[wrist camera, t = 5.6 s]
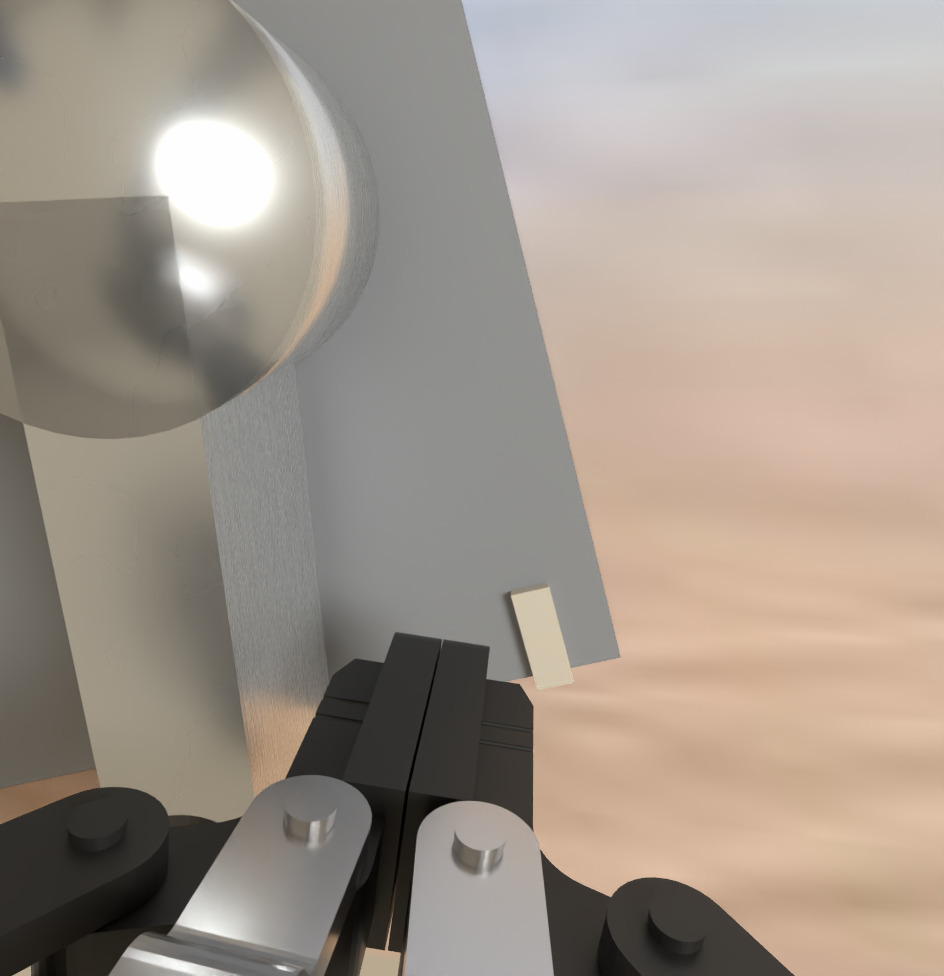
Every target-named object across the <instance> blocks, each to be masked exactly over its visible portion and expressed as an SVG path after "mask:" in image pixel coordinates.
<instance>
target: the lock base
mask: <svg viewBox="0 0 944 976" xmlns="http://www.w3.org/2000/svg"><path fill="white" fill-rule="evenodd" d="M232 1H233V2H235V3H236V4H237V5H238V6H239V7H241V8H242V9H243V10H244V11H245V12H247V13H248V14H249V15H250V16H251V17H253V18H254V19H255V20H256V21H257V22H259V23H260V24H261V25H262V26H263V27H265V28H266V29H267V30H268V31H269V32H271V33H272V34H273V35H274V36H275V37H277V38H278V39H279V40H280V41H281V42H283V43H284V44H285V45H286V46H287V47H289V48H290V49H291V50H292V51H293V52H295V53H296V54H297V55H298V56H299V57H301V58H302V59H303V60H304V61H305V62H306V63H308V64H309V65H310V66H311V67H312V68H313V69H315V70H316V71H317V72H318V73H319V74H320V75H321V76H322V77H323V78H324V79H325V81H326V82H327V83H328V84H329V85H330V86H331V87H332V88H333V89H334V90H335V92H336V93H337V94H338V96H339V97H340V99H341V100H342V102H343V103H344V104H345V106H346V107H347V109H348V110H349V112H350V113H351V115H352V117H353V119H354V121H355V123H356V125H357V126H358V128H359V130H360V132H361V134H362V137H363V139H364V142H365V144H366V147H367V149H368V152H369V155H370V157H371V161H372V165H373V169H374V173H375V177H376V182H377V189H378V197H379V218H380V228H379V236H378V245H377V251H376V255H375V260H374V264H373V268H372V272H371V274H370V277H369V279H368V282H367V284H366V287H365V289H364V292H363V294H362V296H361V297H360V299H359V301H358V303H357V305H356V306H355V308H354V310H353V311H352V313H351V314H350V315H349V317H348V318H347V319H346V321H345V322H344V323H343V325H342V326H341V327H340V328H339V329H338V330H337V331H336V332H335V334H334V335H333V336H332V337H331V338H330V339H329V340H328V341H327V342H325V343H324V344H323V345H321V346H320V347H319V348H318V349H316V350H315V351H314V352H312V353H311V354H310V355H308V356H306V357H304V358H303V359H301V360H299V361H298V362H296V363H295V365H296V374H297V384H298V393H299V403H300V412H301V422H302V431H303V441H304V450H305V460H306V470H307V479H308V489H309V498H310V508H311V517H312V527H313V536H314V546H315V555H316V565H317V574H318V584H319V593H320V603H321V612H322V622H323V632H324V641H325V651H326V660H327V670H328V679H329V683H330V681H331V678H332V676H333V674H334V673H336V672H337V671H339V670H340V669H341V668H343V667H344V666H346V665H347V664H348V663H350V662H351V661H352V660H354V659H355V658H356V659H363V660H369V661H375V662H382V663H384V661H385V659H386V656H387V653H388V650H389V647H390V645H391V642H392V639H393V636H394V634H395V632H400V633H407V634H413V635H419V636H426V637H432V638H438V639H442V644H443V640H444V639H446V640H452V641H459V642H465V643H471V644H478V645H484V646H490V650H489V659H488V668H487V677H486V679H490V680H496V681H502V682H507V681H511V680H516V679H521V678H525V677H530V676H533V677H534V680H535V684H536V688H537V690H541V689H546V688H551V687H556V686H561V685H565V684H570V683H574V680H573V675H572V671H571V668H573V667H577V666H582V665H587V664H592V663H596V662H601V661H606V660H611V659H615V658H620V653H619V649H618V644H617V640H616V636H615V632H614V628H613V624H612V620H611V616H610V611H609V607H608V603H607V599H606V595H605V591H604V587H603V583H602V579H601V574H600V570H599V566H598V562H597V558H596V554H595V550H594V546H593V541H592V537H591V533H590V529H589V525H588V521H587V517H586V513H585V508H584V504H583V500H582V496H581V492H580V488H579V484H578V480H577V475H576V471H575V467H574V463H573V459H572V455H571V451H570V447H569V442H568V438H567V434H566V430H565V426H564V422H563V418H562V414H561V410H560V405H559V401H558V397H557V393H556V389H555V385H554V381H553V377H552V372H551V368H550V364H549V360H548V356H547V352H546V348H545V344H544V339H543V335H542V331H541V327H540V323H539V319H538V315H537V311H536V306H535V302H534V298H533V294H532V290H531V286H530V282H529V278H528V273H527V269H526V265H525V261H524V257H523V253H522V249H521V245H520V241H519V236H518V232H517V228H516V224H515V220H514V216H513V212H512V208H511V203H510V199H509V195H508V191H507V187H506V183H505V179H504V175H503V170H502V166H501V162H500V158H499V154H498V150H497V146H496V142H495V137H494V133H493V129H492V125H491V121H490V117H489V113H488V109H487V104H486V100H485V96H484V92H483V88H482V84H481V80H480V76H479V72H478V67H477V63H476V59H475V55H474V51H473V47H472V43H471V39H470V34H469V30H468V26H467V22H466V18H465V14H464V10H463V6H462V1H461V0H232ZM441 648H442V646H441ZM95 768H96V766H95V761H94V756H93V752H92V747H91V742H90V737H89V733H88V728H87V723H86V718H85V714H84V709H83V704H82V700H81V695H80V690H79V685H78V681H77V676H76V671H75V666H74V662H73V657H72V652H71V647H70V643H69V638H68V633H67V629H66V624H65V619H64V614H63V610H62V605H61V600H60V595H59V591H58V586H57V581H56V577H55V572H54V567H53V562H52V558H51V553H50V548H49V543H48V539H47V534H46V529H45V524H44V520H43V515H42V510H41V506H40V501H39V496H38V491H37V487H36V482H35V477H34V472H33V468H32V463H31V458H30V453H29V449H28V444H27V439H26V435H25V430H24V425H23V423H22V422H20V421H17V420H15V419H13V418H10V417H8V416H6V415H3V414H1V413H0V788H5V787H10V786H15V785H19V784H24V783H29V782H34V781H38V780H43V779H48V778H52V777H57V776H62V775H67V774H71V773H76V772H81V771H86V770H90V769H95Z"/></svg>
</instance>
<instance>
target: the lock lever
mask: <svg viewBox="0 0 944 976" xmlns="http://www.w3.org/2000/svg"><path fill="white" fill-rule="evenodd" d="M379 228H380V218H379V197H378V189H377V182H376V177H375V173H374V169H373V165H372V161H371V157H370V155H369V152H368V149H367V147H366V144H365V142H364V139H363V137H362V134H361V132H360V130H359V128H358V126H357V125H356V123H355V121H354V119H353V117H352V115H351V113H350V112H349V110H348V109H347V107H346V106H345V104H344V103H343V102H342V100H341V99H340V97H339V96H338V94H337V93H336V92H335V90H334V89H333V88H332V87H331V86H330V85H329V84H328V83H327V82H326V81H325V79H324V78H323V77H322V76H321V75H320V74H319V73H318V72H317V71H316V70H315V69H313V68H312V67H311V66H310V65H309V64H308V63H306V62H305V61H304V60H303V59H302V58H301V57H299V56H298V55H297V54H296V53H295V52H293V51H292V50H291V49H290V48H289V47H287V46H286V45H285V44H284V43H283V42H281V41H280V40H279V39H278V38H277V37H275V36H274V35H273V34H272V33H271V32H269V31H268V30H267V29H266V28H265V27H263V26H262V25H261V24H260V23H259V22H257V21H256V20H255V19H254V18H253V17H251V16H250V15H249V14H248V13H247V12H245V11H244V10H243V9H242V8H241V7H239V6H238V5H237V4H236V3H235V2H233V1H232V0H0V413H1V414H3V415H6V416H8V417H10V418H13V419H15V420H17V421H20V422H22V423H23V425H24V430H25V435H26V439H27V444H28V449H29V453H30V458H31V463H32V468H33V472H34V477H35V482H36V487H37V491H38V496H39V501H40V506H41V510H42V515H43V520H44V524H45V529H46V534H47V539H48V543H49V548H50V553H51V558H52V562H53V567H54V572H55V577H56V581H57V586H58V591H59V595H60V600H61V605H62V610H63V614H64V619H65V624H66V629H67V633H68V638H69V643H70V647H71V652H72V657H73V662H74V666H75V671H76V676H77V681H78V685H79V690H80V695H81V700H82V704H83V709H84V714H85V718H86V723H87V728H88V733H89V737H90V742H91V747H92V752H93V756H94V761H95V766H96V771H97V775H98V780H99V785H100V788H104V787H126V788H132V789H137V790H140V791H143V792H146V793H148V794H150V795H152V796H153V797H155V798H156V799H157V800H159V801H160V802H161V803H162V805H163V806H164V807H165V809H166V811H167V814H168V816H169V827H174V826H186V825H198V824H210V823H218V822H224V821H228V820H232V819H236V818H239V817H241V816H243V815H244V813H245V812H246V810H247V808H248V807H249V805H250V804H251V802H252V801H253V800H254V798H255V797H256V796H257V795H258V794H259V793H260V792H261V791H262V790H264V789H265V788H267V787H268V786H270V785H271V784H274V783H276V782H278V781H280V780H283V779H285V778H286V775H287V773H288V771H289V769H290V767H291V765H292V763H293V760H294V758H295V756H296V754H297V752H298V750H299V747H300V745H301V743H302V741H303V739H304V737H305V734H306V732H307V730H308V728H309V726H310V724H311V722H312V719H313V717H314V718H315V713H316V711H317V709H318V706H319V704H320V702H321V700H323V696H324V693H325V691H326V689H327V687H328V685H329V679H328V670H327V660H326V651H325V641H324V632H323V622H322V612H321V603H320V593H319V584H318V574H317V565H316V555H315V546H314V536H313V527H312V517H311V508H310V498H309V489H308V479H307V470H306V460H305V450H304V441H303V431H302V422H301V412H300V403H299V393H298V384H297V374H296V365H295V363H296V362H298V361H299V360H301V359H303V358H304V357H306V356H308V355H310V354H311V353H312V352H314V351H315V350H316V349H318V348H319V347H320V346H321V345H323V344H324V343H325V342H327V341H328V340H329V339H330V338H331V337H332V336H333V335H334V334H335V332H336V331H337V330H338V329H339V328H340V327H341V326H342V325H343V323H344V322H345V321H346V319H347V318H348V317H349V315H350V314H351V313H352V311H353V310H354V308H355V306H356V305H357V303H358V301H359V299H360V297H361V296H362V294H363V292H364V289H365V287H366V284H367V282H368V279H369V277H370V274H371V272H372V268H373V264H374V260H375V255H376V251H377V245H378V236H379Z"/></svg>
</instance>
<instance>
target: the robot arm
mask: <svg viewBox="0 0 944 976" xmlns="http://www.w3.org/2000/svg"><path fill="white" fill-rule="evenodd" d="M441 646H442V648H441ZM489 650H490V646H484V645H478V644H471V643H465V642H459V641H452V640H446V639H444V640H443V644H442V639H438V638H432V637H426V636H419V635H413V634H407V633H400V632H395V634H394V636H393V639H392V642H391V645H390V647H389V650H388V653H387V656H386V659H385V661H384V663H382V662H375V661H369V660H363V659H356V658H355V659H354V660H352V661H351V662H350V663H348V664H347V665H346V666H344V667H343V668H341V669H340V670H339V671H337V672H336V673H334V674H333V676H332V678H331V681H330V683H329V685H328V687H327V689H326V691H325V693H324V696H323V700H321V702H320V704H319V706H318V709H317V711H316V713H315V718H314V717H313V719H312V722H311V724H310V726H309V728H308V730H307V732H306V734H305V737H304V739H303V741H302V743H301V745H300V747H299V750H298V752H297V754H296V756H295V758H294V760H293V763H292V765H291V767H290V769H289V771H288V773H287V775H286V778H285V779H283V780H280V781H278V782H276V783H274V784H271V785H270V786H268V787H267V788H265V789H264V790H262V791H261V792H260V793H259V794H258V795H257V796H256V797H255V798H254V800H253V801H252V802H251V804H250V805H249V807H248V808H247V810H246V812H245V813H244V815H243V816H241V817H239V818H236V819H232V820H228V821H224V822H218V823H210V824H198V825H186V826H174V827H169V816H168V814H167V811H166V809H165V807H164V806H163V805H162V803H161V802H160V801H159V800H157V799H156V798H155V797H153V796H152V795H150V794H148V793H146V792H143V791H140V790H137V789H132V788H126V787H104V788H96V789H91V790H87V791H83V792H80V793H77V794H74V795H71V796H69V797H66V798H64V799H61V800H59V801H56V802H54V803H52V804H49V805H47V806H44V807H42V808H39V809H37V810H34V811H32V812H30V813H27V814H25V815H22V816H20V817H17V818H15V819H13V820H10V821H8V822H5V823H3V824H0V976H12V975H14V974H16V973H18V972H20V971H21V970H23V969H25V968H27V967H29V966H31V976H359V974H360V970H361V966H362V962H363V957H364V953H365V949H366V947H368V948H374V949H380V950H385V947H386V942H387V937H388V932H389V928H390V923H391V918H392V923H391V931H390V939H389V946H388V951H394V952H400V953H401V956H400V963H399V970H398V976H794V975H793V974H792V973H791V972H790V971H789V970H788V969H787V968H786V967H784V966H783V965H782V964H781V963H780V962H779V961H778V960H777V959H776V958H775V957H774V956H773V955H772V954H770V953H769V952H768V951H767V950H766V949H765V948H764V947H763V946H762V945H761V944H760V943H759V942H758V941H756V940H755V939H754V938H753V937H752V936H751V935H750V934H749V933H748V932H747V931H746V930H745V929H744V928H742V927H741V926H740V925H739V924H738V923H737V922H736V921H735V920H734V919H733V918H732V917H731V916H729V915H728V914H727V913H726V912H725V911H724V910H723V909H722V908H721V907H720V906H719V905H717V904H716V903H715V902H714V901H713V900H711V899H710V898H709V897H707V896H706V895H704V894H703V893H701V892H700V891H698V890H696V889H694V888H692V887H690V886H688V885H685V884H682V883H680V882H677V881H673V880H669V879H663V878H641V879H636V880H633V881H630V882H627V883H626V884H624V885H622V886H621V887H620V888H619V889H618V890H617V891H616V892H615V893H614V894H613V896H612V897H609V896H607V895H604V894H602V893H600V892H598V891H595V890H593V889H591V888H589V887H586V886H584V885H582V884H580V883H578V882H576V881H574V880H572V879H571V878H569V877H568V876H566V875H565V874H563V873H562V872H561V871H560V870H558V869H557V868H556V867H555V866H554V865H553V864H552V863H551V862H550V861H549V860H548V859H547V858H546V857H545V855H544V854H543V852H542V851H541V850H540V847H539V843H538V840H537V838H536V836H535V834H534V832H533V705H532V703H531V701H530V700H529V698H528V697H527V695H526V693H525V692H524V690H523V689H522V687H521V686H520V684H515V683H509V682H502V681H496V680H490V679H486V677H487V668H488V659H489ZM392 914H393V916H392Z"/></svg>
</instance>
